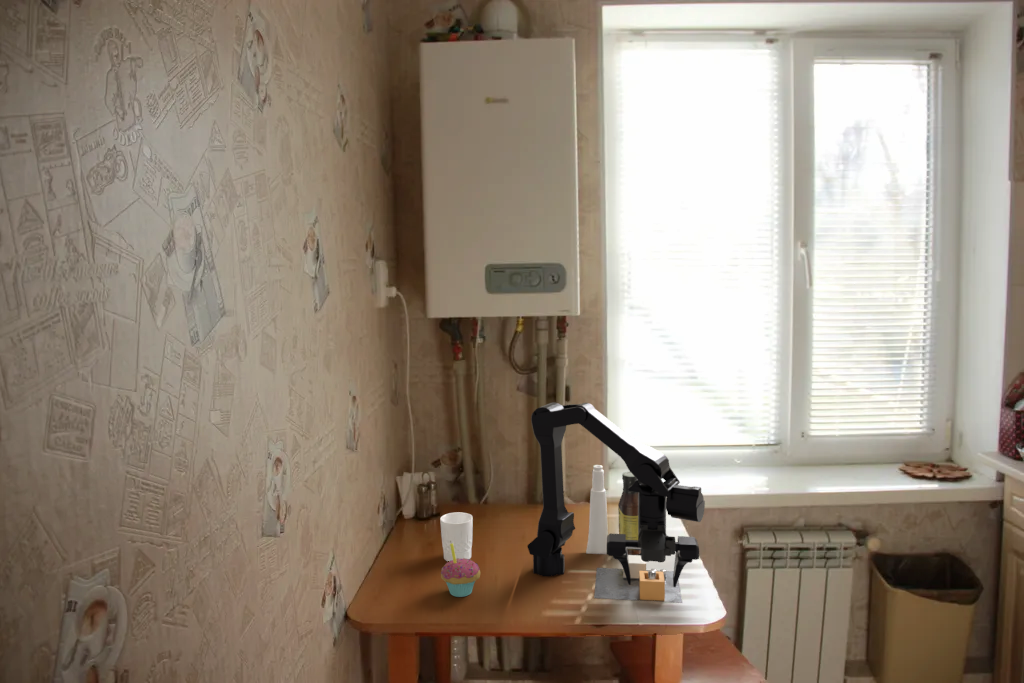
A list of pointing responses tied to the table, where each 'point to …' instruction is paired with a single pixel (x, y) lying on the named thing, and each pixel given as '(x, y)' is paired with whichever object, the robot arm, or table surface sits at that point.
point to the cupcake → (460, 575)
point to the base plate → (617, 587)
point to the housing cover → (635, 566)
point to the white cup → (457, 534)
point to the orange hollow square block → (651, 586)
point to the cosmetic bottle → (598, 514)
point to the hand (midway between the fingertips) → (651, 585)
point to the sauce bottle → (629, 511)
